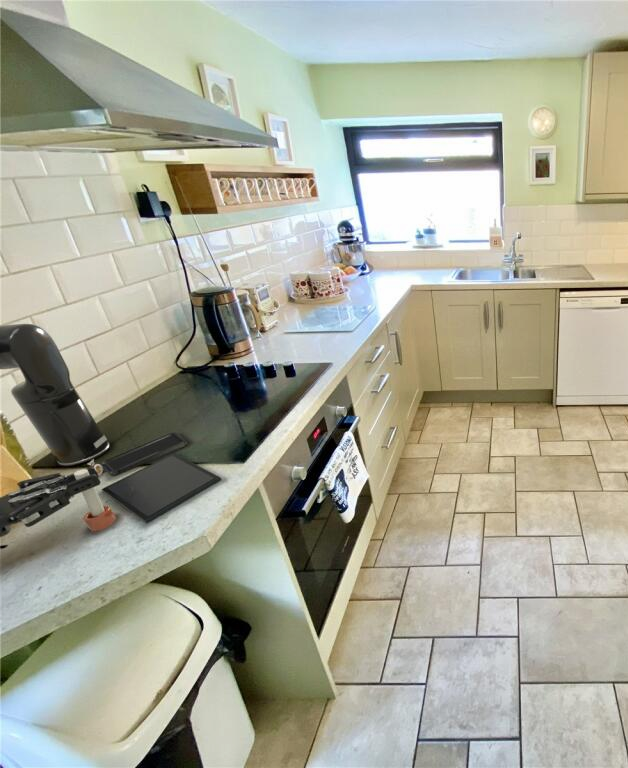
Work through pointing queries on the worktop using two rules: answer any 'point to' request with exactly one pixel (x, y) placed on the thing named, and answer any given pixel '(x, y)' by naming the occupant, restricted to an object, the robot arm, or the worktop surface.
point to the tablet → (160, 487)
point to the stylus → (90, 495)
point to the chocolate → (97, 468)
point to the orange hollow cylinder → (100, 520)
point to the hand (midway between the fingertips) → (96, 475)
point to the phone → (143, 454)
